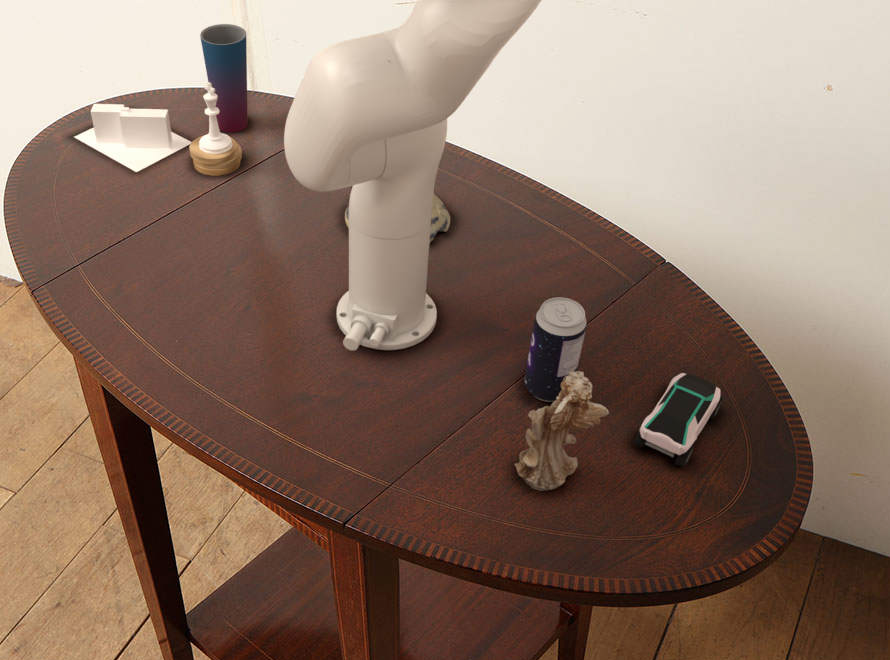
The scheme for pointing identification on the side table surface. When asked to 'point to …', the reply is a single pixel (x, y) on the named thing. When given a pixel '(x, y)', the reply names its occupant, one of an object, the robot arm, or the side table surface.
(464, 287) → the side table surface
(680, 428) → the toy car
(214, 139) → the chess piece
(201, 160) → the chip pile
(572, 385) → the figurine
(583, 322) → the beverage can
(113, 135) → the napkin holder
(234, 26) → the cup
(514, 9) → the robot arm
